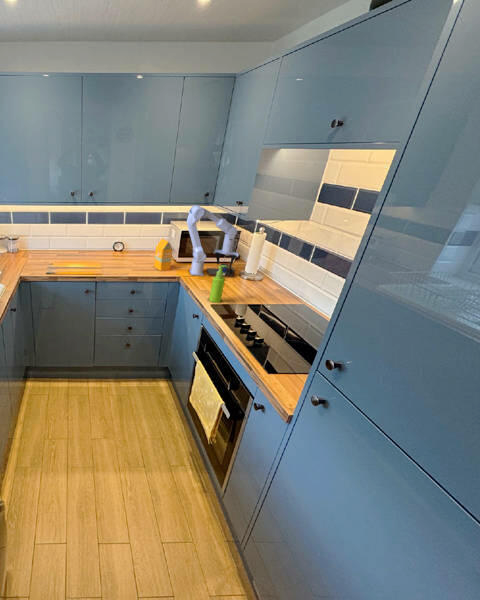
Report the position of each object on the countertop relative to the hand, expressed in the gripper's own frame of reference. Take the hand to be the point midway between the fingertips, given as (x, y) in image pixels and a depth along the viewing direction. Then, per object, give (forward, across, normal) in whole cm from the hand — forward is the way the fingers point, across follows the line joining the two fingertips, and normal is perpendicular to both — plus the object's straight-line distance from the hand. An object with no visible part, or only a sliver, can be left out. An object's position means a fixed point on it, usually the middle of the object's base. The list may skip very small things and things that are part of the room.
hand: (224, 265), depth 212 cm
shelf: (+6, -2, -1) cm, 6 cm away
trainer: (+4, 0, -2) cm, 5 cm away
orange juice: (+6, -38, -11) cm, 40 cm away
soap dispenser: (+6, +5, -45) cm, 45 cm away
